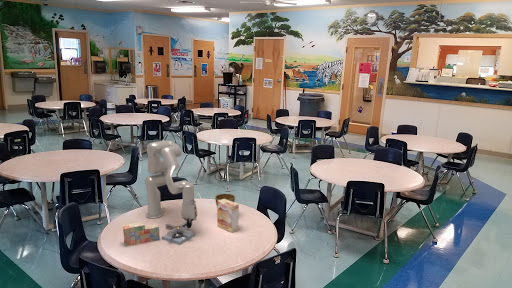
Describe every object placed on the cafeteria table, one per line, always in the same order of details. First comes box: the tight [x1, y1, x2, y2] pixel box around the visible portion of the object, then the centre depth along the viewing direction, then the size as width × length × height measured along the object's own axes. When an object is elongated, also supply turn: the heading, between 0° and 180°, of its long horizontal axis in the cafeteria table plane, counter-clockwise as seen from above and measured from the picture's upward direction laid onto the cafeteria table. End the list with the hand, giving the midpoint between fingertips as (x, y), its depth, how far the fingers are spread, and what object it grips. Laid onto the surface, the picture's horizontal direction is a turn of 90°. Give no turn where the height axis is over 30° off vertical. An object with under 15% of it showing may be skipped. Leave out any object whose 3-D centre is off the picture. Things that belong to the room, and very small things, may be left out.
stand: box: [161, 231, 196, 246], centre depth 244 cm, size 15×15×2 cm
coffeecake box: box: [216, 199, 240, 234], centre depth 258 cm, size 15×7×20 cm, turn 47°
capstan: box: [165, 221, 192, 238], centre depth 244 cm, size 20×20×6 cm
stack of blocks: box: [122, 221, 160, 247], centre depth 238 cm, size 21×6×12 cm, turn 117°
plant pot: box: [214, 193, 236, 206], centre depth 278 cm, size 15×15×16 cm
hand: (189, 227), depth 249 cm, fingers closed
